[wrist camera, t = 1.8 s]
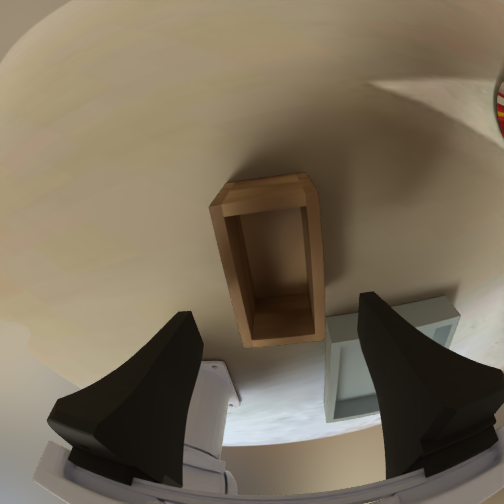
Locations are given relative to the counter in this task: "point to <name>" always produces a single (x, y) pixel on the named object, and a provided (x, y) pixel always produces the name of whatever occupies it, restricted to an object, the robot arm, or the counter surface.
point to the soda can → (501, 107)
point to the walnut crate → (272, 258)
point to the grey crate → (354, 365)
